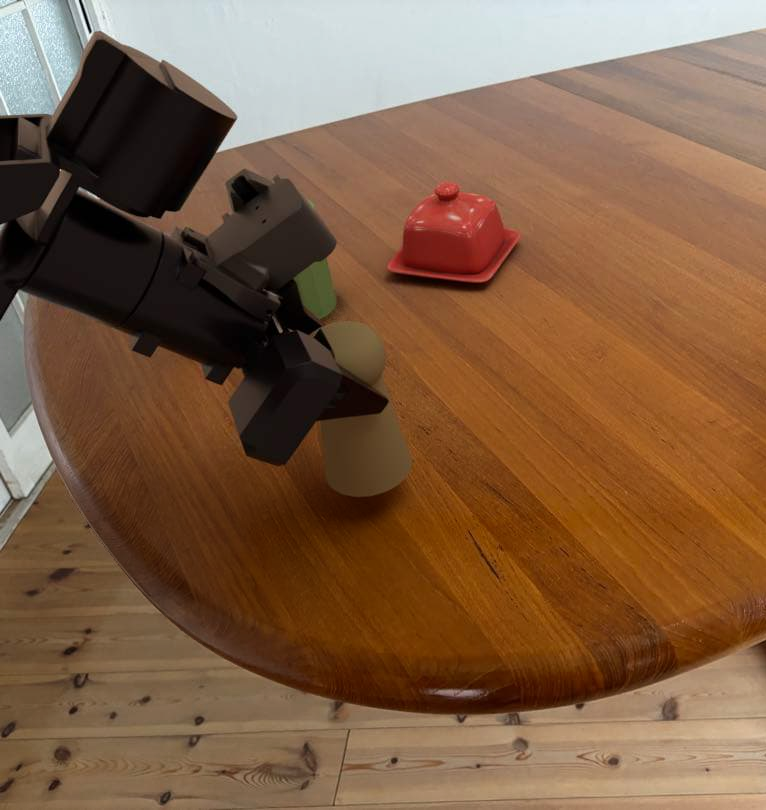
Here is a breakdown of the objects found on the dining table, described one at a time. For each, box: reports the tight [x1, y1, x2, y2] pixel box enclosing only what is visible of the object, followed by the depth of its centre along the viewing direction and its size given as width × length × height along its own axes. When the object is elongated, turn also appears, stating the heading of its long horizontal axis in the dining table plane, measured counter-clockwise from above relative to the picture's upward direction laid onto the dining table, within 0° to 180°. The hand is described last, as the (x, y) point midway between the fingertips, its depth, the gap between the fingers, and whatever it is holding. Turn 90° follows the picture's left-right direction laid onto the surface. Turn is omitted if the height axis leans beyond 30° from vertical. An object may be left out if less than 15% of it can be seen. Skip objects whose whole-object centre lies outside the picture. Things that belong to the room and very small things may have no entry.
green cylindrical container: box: [294, 198, 338, 320], centre depth 77 cm, size 7×7×10 cm
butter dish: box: [386, 181, 522, 284], centre depth 83 cm, size 12×12×8 cm
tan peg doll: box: [309, 320, 414, 498], centre depth 54 cm, size 6×6×11 cm
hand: (372, 385), depth 54 cm, fingers closed on tan peg doll, 5 cm apart
